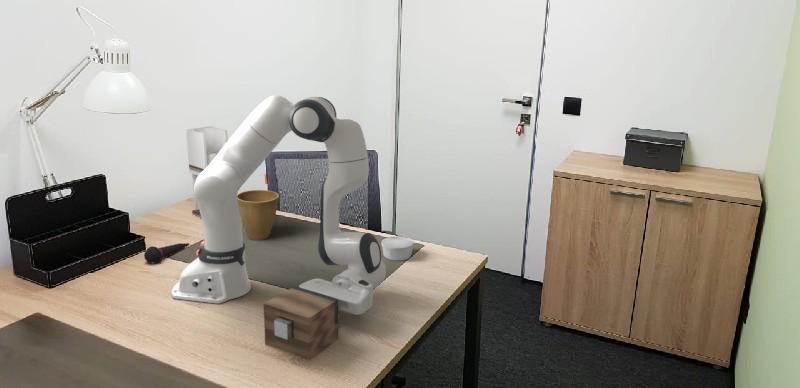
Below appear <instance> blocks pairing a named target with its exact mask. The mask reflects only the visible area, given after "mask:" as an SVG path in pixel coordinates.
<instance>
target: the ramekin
mask: <svg viewBox="0 0 800 388" xmlns="http://www.w3.org/2000/svg"><path fill="white" fill-rule="evenodd" d="M380 243H381V244H380V245H381V247H382V255H383V256H384V257H385V259H387V260H390V261H397V262H399V261H401V262H402V261H406V260H408V259H410V258H411V255H412V252H413V249H414V246H415V245H414V244H415V243H414V240H412V239H411V238H408V237H403V236H389V237H385V238H384V239H382V240H381V242H380Z"/></svg>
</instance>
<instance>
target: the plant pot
mask: <svg viewBox="0 0 800 388" xmlns="http://www.w3.org/2000/svg"><path fill="white" fill-rule="evenodd" d="M237 202H238V207H239V212H240V216H241V217H242V226H243V228H244V230H245V233H246V235H247V237H248V238H249V239H250V240H253V241H262V240H263V241H264V240H267V239H268V238H269V237H270V234H271V232H272V229H273V226H274V223H275V219H276V215H277V210H278V202H279V193H277V192H275V191H272V190H266V189H254V190H253V189H252V190H246V191H241V192H239V193H237Z"/></svg>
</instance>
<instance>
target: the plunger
mask: <svg viewBox="0 0 800 388" xmlns="http://www.w3.org/2000/svg"><path fill="white" fill-rule="evenodd" d="M274 330H275V335H276V336H278V337H281V338H284V339H287V340H288V339H289V338H291V337H292V336H294V329H293V320H290V319H287V318H284V317H279V318H277V319H276V320H274Z"/></svg>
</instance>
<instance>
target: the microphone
mask: <svg viewBox="0 0 800 388" xmlns="http://www.w3.org/2000/svg"><path fill="white" fill-rule="evenodd" d="M187 245H188V246H190V243H176V244H171V245H167V246H162V247H157V246H152V245H151V246H150V247H148V248H147V249H146V250H145V251H144V254H143V256H144V260H145V261H146V262H147V263H150V264H158V263H159V262H160V261H161V260H162V258H167V257H169V256H170V255H172V254H175V253H177V252H179V251H181V249H182V250H184V249H185V248H186V247H188V246H187ZM185 246H186V247H185ZM174 252H175V253H174ZM166 256H167V257H166Z"/></svg>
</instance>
